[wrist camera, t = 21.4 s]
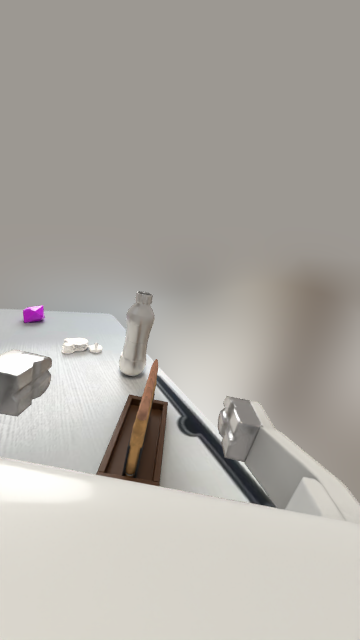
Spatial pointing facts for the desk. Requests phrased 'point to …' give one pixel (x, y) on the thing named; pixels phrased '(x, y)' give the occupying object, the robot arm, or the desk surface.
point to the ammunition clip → (140, 426)
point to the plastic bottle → (137, 335)
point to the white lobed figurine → (79, 346)
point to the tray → (151, 449)
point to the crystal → (33, 314)
